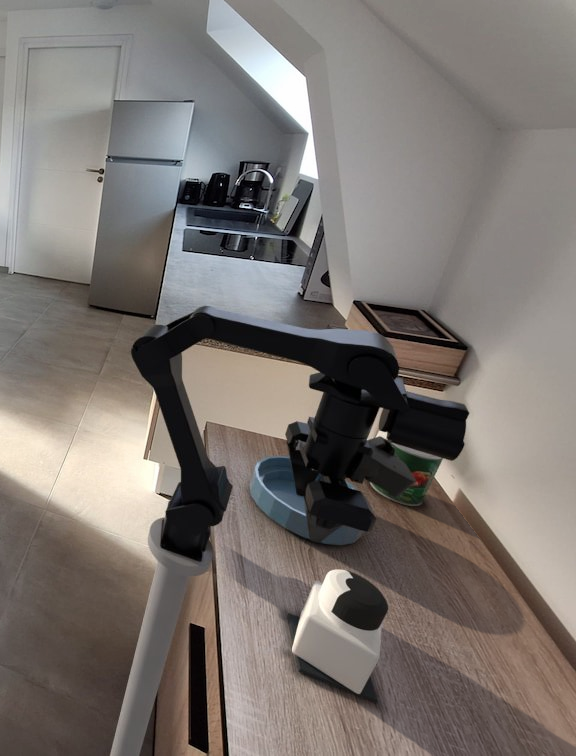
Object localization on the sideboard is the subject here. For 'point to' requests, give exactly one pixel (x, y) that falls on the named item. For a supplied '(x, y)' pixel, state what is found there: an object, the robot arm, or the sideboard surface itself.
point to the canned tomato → (422, 471)
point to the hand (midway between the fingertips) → (306, 516)
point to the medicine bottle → (342, 628)
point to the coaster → (313, 672)
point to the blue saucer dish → (289, 500)
